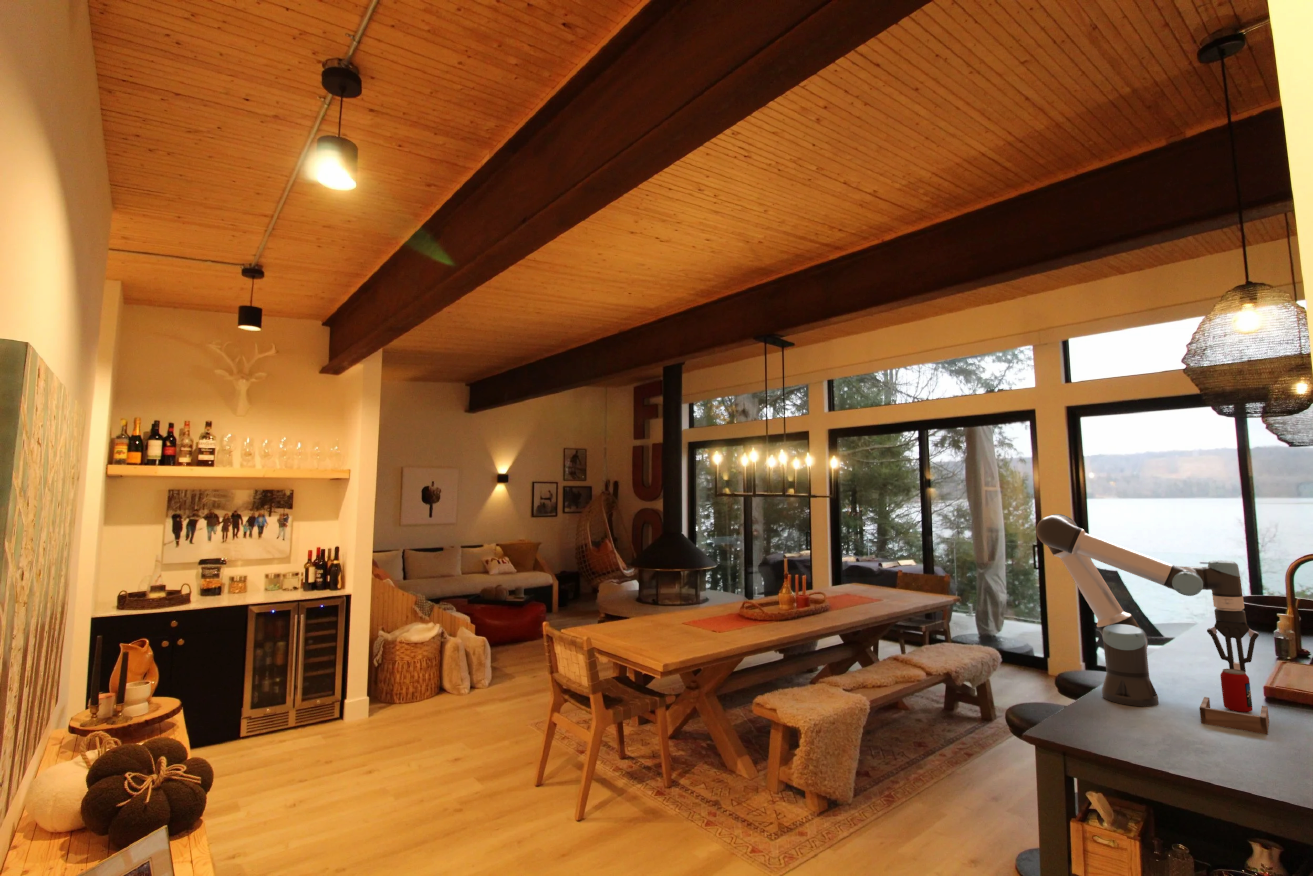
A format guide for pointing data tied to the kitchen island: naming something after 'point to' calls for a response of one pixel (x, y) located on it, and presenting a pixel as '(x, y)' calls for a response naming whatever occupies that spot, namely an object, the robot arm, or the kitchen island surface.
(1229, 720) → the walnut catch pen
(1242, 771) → the kitchen island surface
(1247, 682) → the beverage can
